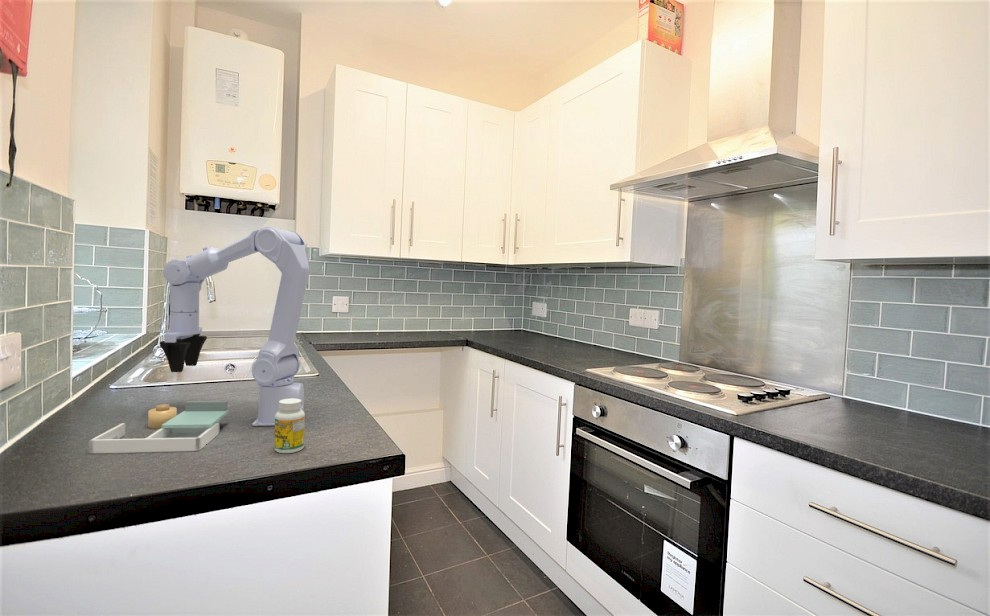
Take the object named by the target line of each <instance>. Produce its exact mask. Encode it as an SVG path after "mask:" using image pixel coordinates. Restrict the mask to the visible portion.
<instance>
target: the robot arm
mask: <svg viewBox="0 0 990 616" xmlns="http://www.w3.org/2000/svg"><path fill="white" fill-rule="evenodd" d="M307 245H308V244H307V242H306V241H305V240H304V239H303V237H302V236H301V235H300V234H299V233H298V232H297V231H293V230H286V229H281V228H280V229H279V228H275V227H272V226H264V227H262V228H259V229H255V230H253V231H252V232H250V234H248V235H246V236H244V237H242V238H240V239H238V240H236V241H234V242H232V243H230V244H229V245H227V246H224V247H222V248H217V247H215V246H214V247H212V246H205V247H203V248H202V250H201V251H200V252H197V253H196V254H194V255H193V254H188V255H186V256H185V259H183V260H181V259H177V258H174V259H171V260H170V261H168V262H167V263H166V264H165V266H163V267H164V268H163V277H164V278H165V281H166V282H167V283H168V284H169V329H164V330H163V333H164V340H160V341H159V347H160V349H161V350H162V351H163V353H164V354H165V356H166V359H167V363H168V366H169V370H170V372H171V373H182V372H183V370H184V366H186V367H196V366H197V365H198V362H199V359H200V358H199V357H200V354H201V351H202V348H203V345H205V342H207V338H208V337H207V335H203V327H202V326H200V292H201V290H202V285H203V283H204V281H205V279H206V278H207V279H208V278H209V277H212V276H215V275H216V274H219V273H221V272H223V271H226V270H227V269H228V267H229V263H231V262H234V261H237V260H240V259H243V258H245V257H249V256H251V255H254V254H256V253H260V254H261V255H262V256H264V257H265V258H266V259H268V260H269V261H270V262H272V263H273V264H274V265H275V266H276V267H277V269H278V270H279V272H280V273H281V277H280V280H279V281H280V282H279V284H278V285H279V286H278V291H277V295H276V296H277V297H276V300H275V306H274V310H273V315H272V321H271V325H270V329H269V334H268V339H267V341H266V342H265V344H264V345H263V346H262V347H260V349H259V351H258V355H257V358H256V359H255V361H254V362H253V363H252V366H251V374H252V375H251V376H252V378H253V379H254V381H255V382H257V386H258V404H257V405H258V407H257V410H258V411H257V412H258V415H257V418H256V419H255V420H254V421H253V422H252V423H251V426H253V427H254V426H255V427H256V426H257V427H258V426H261V427H262V426H265V427H266V426H270V427H271V426H275V415H276V413H277V412H278V411H280V409H279V401H280V400H283V399H290V398H295V399H300V400H301V408H300V409H301V410H303V411H304V412H305V410H304V408H305V405H304V404H305V403H304V401H305V387H304V383H302V382H301V383H300V382H294V381H295V376H296V375H297V374H298V372H299V371H300V367H301V364H300V359H299V355H300V354H299V353H300V349H299V347H298V346H297V345H296V343H295V340H296V336H297V331H298V326H299V321H300V318H301V313H302V307H303V303H304V299H305V294H306V290H307V289H306V288H307V284H308V279H309V274H310V265H309V260H308V256H307V253H306V252H307V251H306V250H307Z"/></svg>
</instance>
